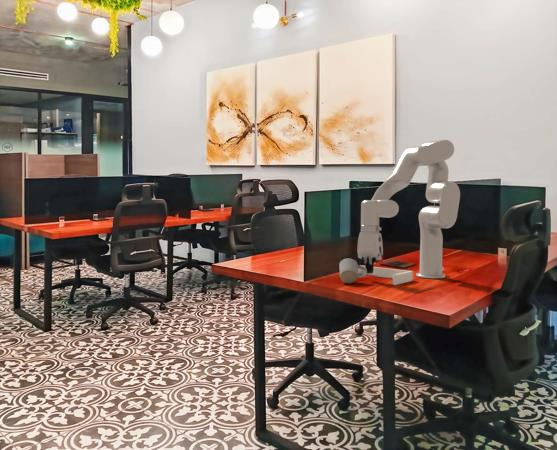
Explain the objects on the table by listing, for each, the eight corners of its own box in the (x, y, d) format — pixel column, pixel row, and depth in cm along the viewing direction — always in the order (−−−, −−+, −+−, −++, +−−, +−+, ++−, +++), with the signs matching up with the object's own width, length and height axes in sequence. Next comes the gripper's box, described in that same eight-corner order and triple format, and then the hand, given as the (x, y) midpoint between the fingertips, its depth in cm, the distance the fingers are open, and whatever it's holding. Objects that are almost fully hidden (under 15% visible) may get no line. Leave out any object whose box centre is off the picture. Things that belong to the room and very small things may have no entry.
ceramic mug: (344, 286, 208) (336, 273, 205) (343, 274, 215) (336, 260, 212) (368, 279, 205) (361, 265, 201) (367, 266, 212) (360, 253, 208)
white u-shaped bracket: (359, 274, 234) (360, 265, 234) (413, 280, 216) (413, 271, 216) (340, 277, 222) (340, 268, 222) (395, 285, 205) (395, 275, 205)
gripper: (390, 230, 211) (389, 273, 212) (359, 228, 221) (358, 270, 222) (381, 230, 206) (380, 275, 207) (349, 229, 215) (349, 272, 216)
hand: (369, 272), depth 214 cm, fingers closed
